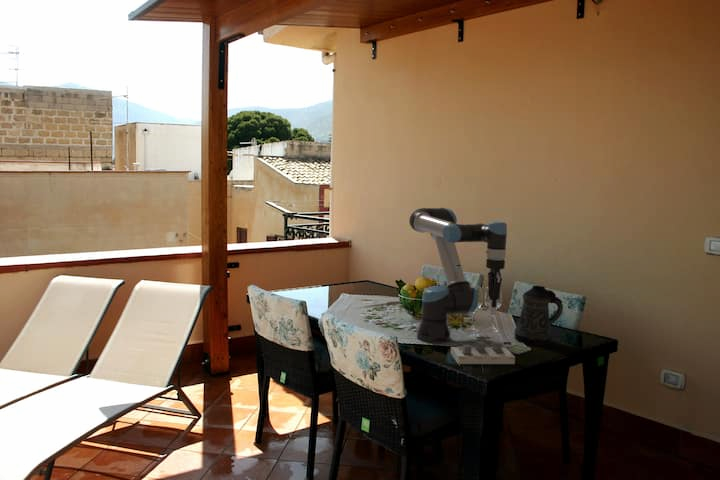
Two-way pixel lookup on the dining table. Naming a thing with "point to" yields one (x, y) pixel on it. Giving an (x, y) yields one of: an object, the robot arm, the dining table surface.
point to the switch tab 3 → (497, 347)
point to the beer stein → (537, 316)
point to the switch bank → (483, 356)
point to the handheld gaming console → (514, 347)
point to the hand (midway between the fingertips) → (492, 314)
